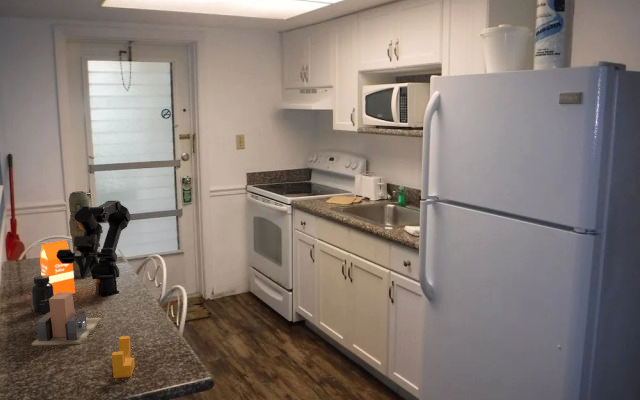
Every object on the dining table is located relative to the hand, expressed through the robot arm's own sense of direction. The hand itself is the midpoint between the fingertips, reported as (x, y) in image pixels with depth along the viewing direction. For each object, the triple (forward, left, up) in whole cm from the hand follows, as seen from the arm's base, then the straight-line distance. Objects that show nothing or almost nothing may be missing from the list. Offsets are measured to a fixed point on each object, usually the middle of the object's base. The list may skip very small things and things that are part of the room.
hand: (82, 278), depth 186 cm
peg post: (+12, +12, -12) cm, 21 cm away
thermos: (-22, -47, -13) cm, 53 cm away
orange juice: (-4, -30, -13) cm, 33 cm away
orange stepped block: (+11, +46, -13) cm, 49 cm away
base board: (+10, +9, -13) cm, 19 cm away
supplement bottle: (+7, -16, -13) cm, 22 cm away
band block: (+13, +13, -12) cm, 22 cm away
